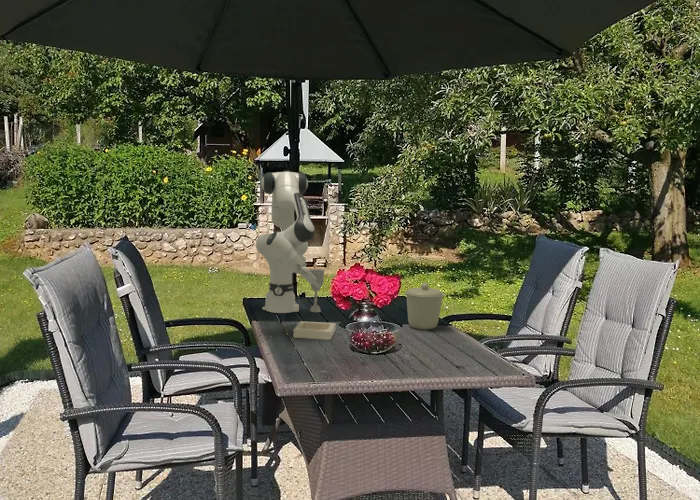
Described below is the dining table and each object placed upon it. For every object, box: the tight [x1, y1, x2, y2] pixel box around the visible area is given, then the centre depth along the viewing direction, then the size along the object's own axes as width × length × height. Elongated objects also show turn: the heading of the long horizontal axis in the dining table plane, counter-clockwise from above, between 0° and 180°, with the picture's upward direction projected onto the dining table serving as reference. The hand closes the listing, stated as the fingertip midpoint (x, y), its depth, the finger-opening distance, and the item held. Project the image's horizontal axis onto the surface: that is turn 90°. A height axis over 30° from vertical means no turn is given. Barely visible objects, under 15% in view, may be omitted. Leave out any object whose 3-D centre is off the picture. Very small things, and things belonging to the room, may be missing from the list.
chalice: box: [308, 268, 326, 313], centre depth 300 cm, size 7×7×18 cm
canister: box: [404, 282, 445, 331], centre depth 321 cm, size 18×18×21 cm
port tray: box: [293, 320, 337, 341], centre depth 302 cm, size 16×16×4 cm
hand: (317, 285), depth 300 cm, fingers closed on chalice, 6 cm apart
